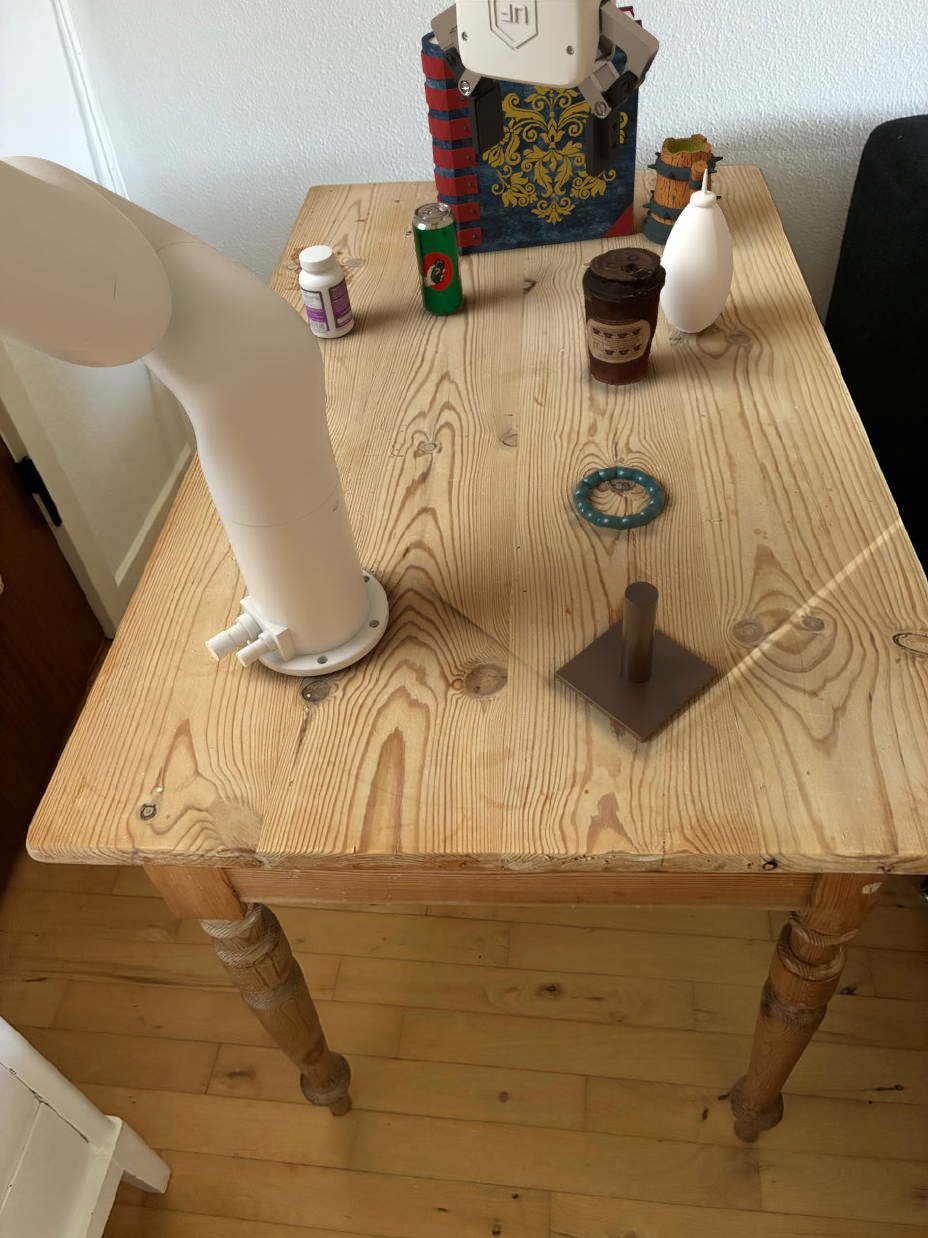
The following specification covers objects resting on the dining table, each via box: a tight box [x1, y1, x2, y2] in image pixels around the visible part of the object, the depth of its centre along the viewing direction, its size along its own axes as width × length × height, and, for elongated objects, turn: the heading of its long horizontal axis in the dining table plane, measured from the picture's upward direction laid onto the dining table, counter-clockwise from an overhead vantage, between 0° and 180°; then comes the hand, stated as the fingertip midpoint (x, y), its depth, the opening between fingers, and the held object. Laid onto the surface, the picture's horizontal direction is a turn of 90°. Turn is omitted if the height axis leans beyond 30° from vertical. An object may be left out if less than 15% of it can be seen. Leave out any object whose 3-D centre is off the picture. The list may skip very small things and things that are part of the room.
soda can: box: [411, 201, 465, 317], centre depth 111 cm, size 5×5×12 cm
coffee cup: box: [581, 246, 666, 387], centre depth 98 cm, size 9×8×13 cm
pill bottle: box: [298, 244, 355, 339], centre depth 111 cm, size 5×5×10 cm
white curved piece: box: [659, 169, 734, 334], centre depth 101 cm, size 8×8×18 cm
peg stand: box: [554, 581, 719, 743], centre depth 71 cm, size 9×9×10 cm
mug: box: [641, 133, 724, 246], centre depth 118 cm, size 13×10×12 cm
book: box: [420, 5, 643, 257], centre depth 116 cm, size 25×7×25 cm, turn 94°
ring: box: [572, 465, 667, 531], centre depth 88 cm, size 8×8×1 cm
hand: (543, 157), depth 68 cm, fingers open, 9 cm apart
